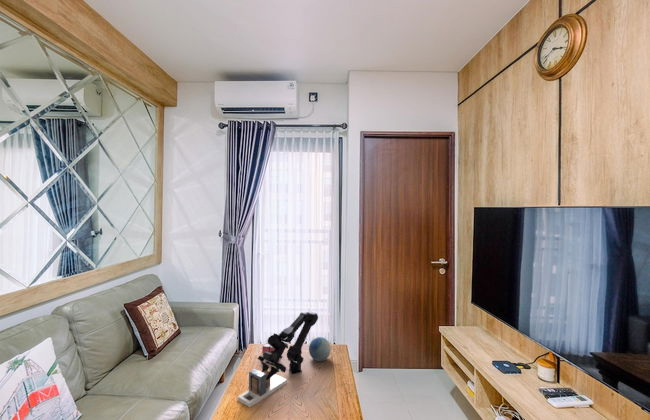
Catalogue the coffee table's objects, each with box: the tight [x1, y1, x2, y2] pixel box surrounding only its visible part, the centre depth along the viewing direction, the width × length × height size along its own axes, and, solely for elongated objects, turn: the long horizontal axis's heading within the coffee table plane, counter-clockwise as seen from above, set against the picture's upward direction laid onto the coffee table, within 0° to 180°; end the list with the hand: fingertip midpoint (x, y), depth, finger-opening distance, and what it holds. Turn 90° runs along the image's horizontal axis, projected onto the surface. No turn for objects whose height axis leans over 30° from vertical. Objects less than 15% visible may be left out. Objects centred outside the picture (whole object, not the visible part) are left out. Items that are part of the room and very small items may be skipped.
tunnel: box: [248, 368, 266, 396], centre depth 174 cm, size 4×9×10 cm, turn 54°
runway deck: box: [237, 373, 288, 408], centre depth 178 cm, size 28×10×2 cm, turn 144°
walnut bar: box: [252, 370, 270, 395], centre depth 177 cm, size 10×4×8 cm, turn 144°
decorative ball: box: [308, 336, 332, 362], centre depth 214 cm, size 15×15×15 cm
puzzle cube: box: [261, 340, 274, 356], centre depth 215 cm, size 10×10×10 cm
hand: (264, 378), depth 178 cm, fingers closed on walnut bar, 4 cm apart
